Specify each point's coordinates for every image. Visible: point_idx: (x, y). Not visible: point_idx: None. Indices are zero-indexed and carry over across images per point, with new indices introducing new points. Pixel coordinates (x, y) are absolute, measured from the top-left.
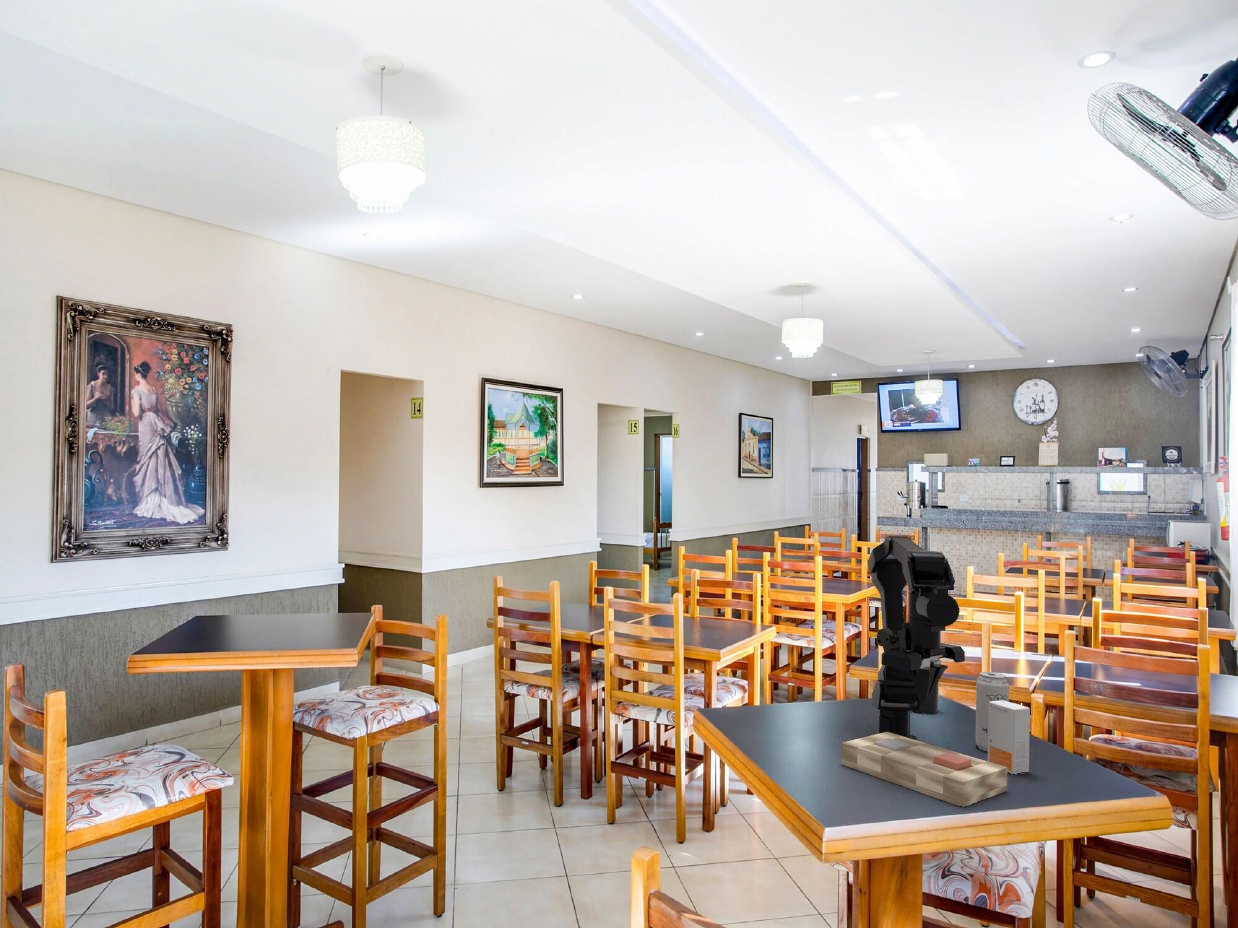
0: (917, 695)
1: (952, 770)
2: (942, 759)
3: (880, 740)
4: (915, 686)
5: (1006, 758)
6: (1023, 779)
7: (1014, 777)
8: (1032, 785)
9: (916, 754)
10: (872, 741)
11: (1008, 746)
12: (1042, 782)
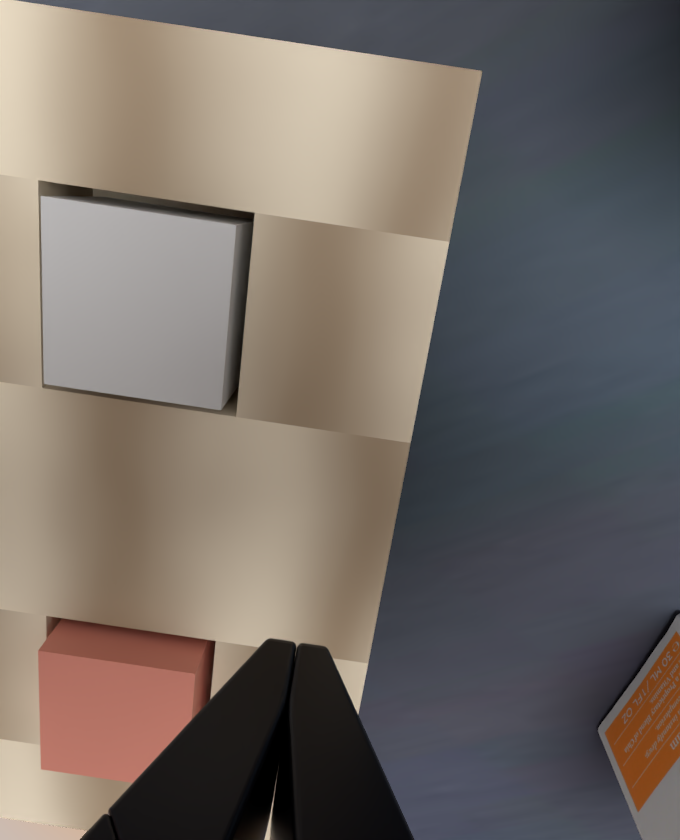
0: (227, 681)
1: (30, 726)
2: (41, 694)
3: (104, 213)
4: (134, 796)
5: (641, 755)
6: (560, 768)
7: (559, 738)
8: (502, 807)
9: (106, 503)
10: (95, 143)
11: (664, 829)
12: (580, 822)
